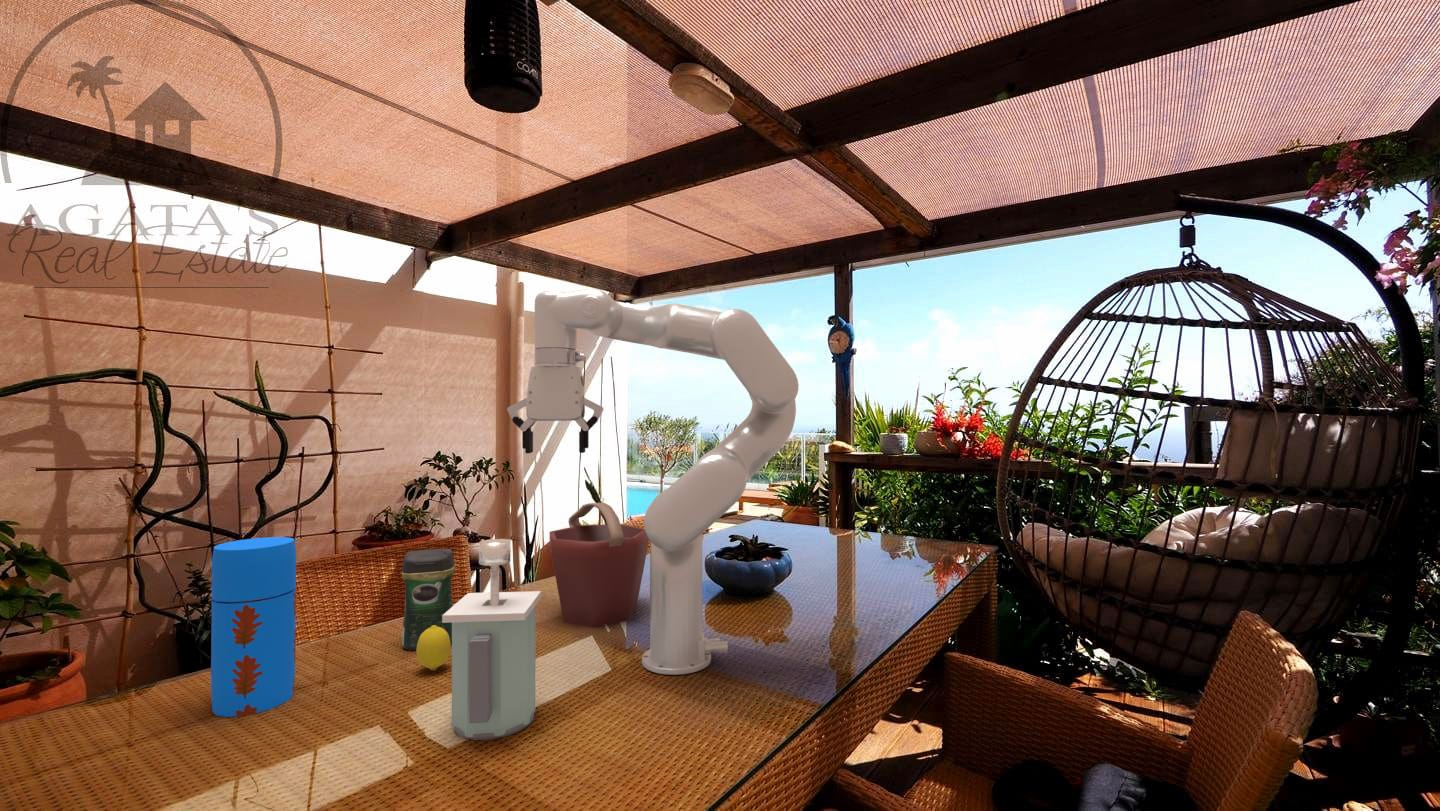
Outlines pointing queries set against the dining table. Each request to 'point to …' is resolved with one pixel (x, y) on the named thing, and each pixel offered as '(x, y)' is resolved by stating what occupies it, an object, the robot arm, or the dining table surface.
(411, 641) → the coffee jar
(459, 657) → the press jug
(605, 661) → the dining table surface
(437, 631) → the lemon
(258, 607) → the thermos
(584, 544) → the bucket
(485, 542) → the plunger
